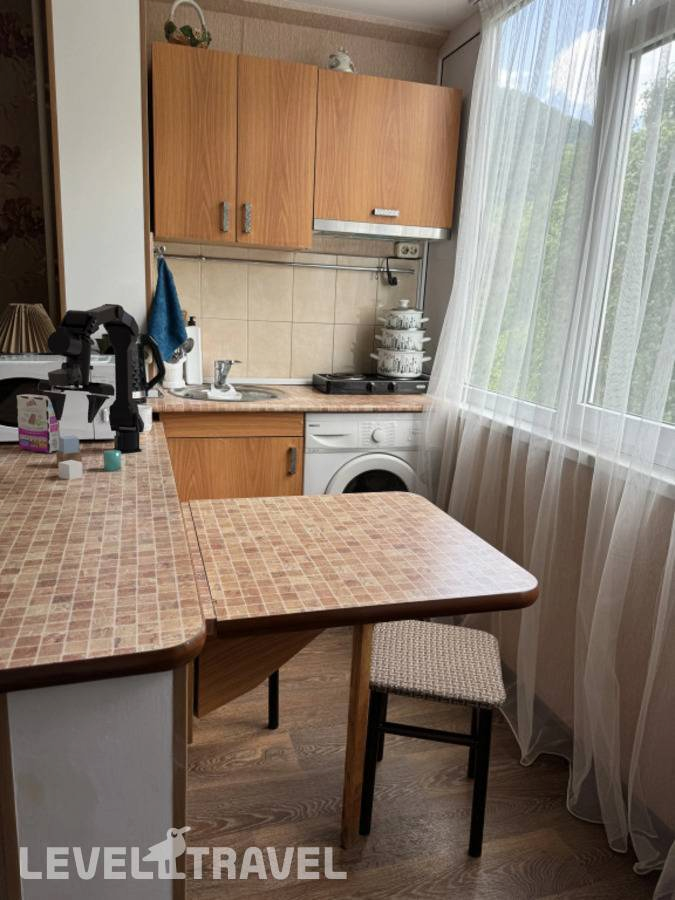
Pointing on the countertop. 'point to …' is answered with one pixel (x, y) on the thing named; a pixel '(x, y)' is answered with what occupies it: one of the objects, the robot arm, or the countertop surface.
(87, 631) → the countertop surface
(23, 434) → the candy bar box
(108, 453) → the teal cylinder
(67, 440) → the tower top
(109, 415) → the robot arm
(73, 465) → the cube
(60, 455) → the tower base
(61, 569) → the countertop surface
